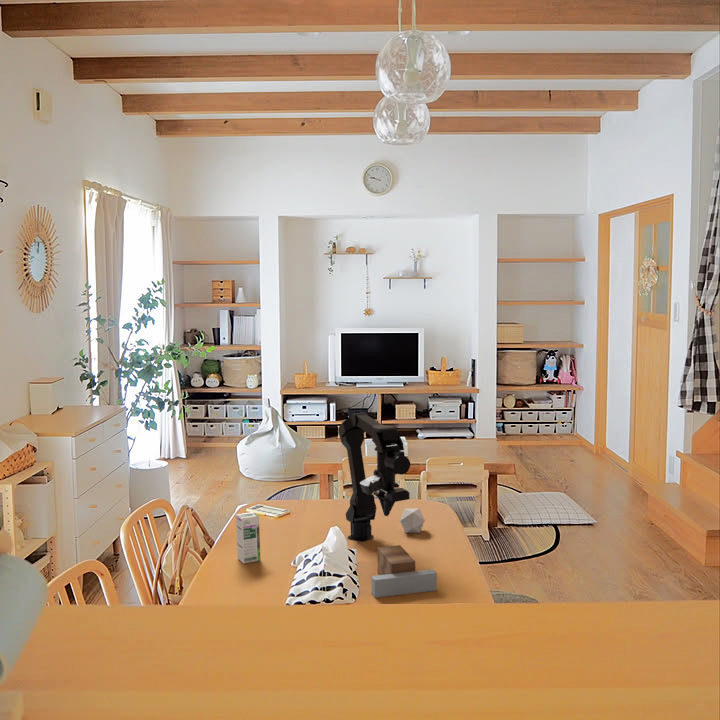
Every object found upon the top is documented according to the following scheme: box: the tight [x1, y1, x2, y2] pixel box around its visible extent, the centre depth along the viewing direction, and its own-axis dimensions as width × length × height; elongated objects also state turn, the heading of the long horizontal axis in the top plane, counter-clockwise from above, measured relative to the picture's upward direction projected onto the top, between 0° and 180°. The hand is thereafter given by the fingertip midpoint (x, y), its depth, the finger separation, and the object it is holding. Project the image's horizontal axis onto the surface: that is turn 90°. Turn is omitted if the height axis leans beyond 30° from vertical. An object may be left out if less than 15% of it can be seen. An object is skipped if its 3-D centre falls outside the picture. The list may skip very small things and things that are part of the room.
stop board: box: [371, 568, 438, 599], centre depth 213 cm, size 3×18×5 cm, turn 105°
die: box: [399, 508, 426, 534], centre depth 264 cm, size 8×9×10 cm
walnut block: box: [377, 544, 416, 575], centre depth 221 cm, size 14×7×8 cm, turn 15°
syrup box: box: [235, 511, 261, 564], centre depth 239 cm, size 6×6×14 cm
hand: (386, 515), depth 241 cm, fingers closed
